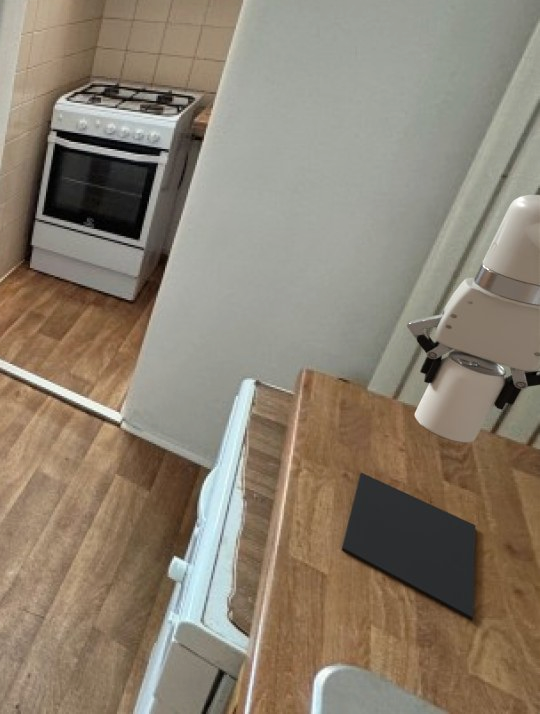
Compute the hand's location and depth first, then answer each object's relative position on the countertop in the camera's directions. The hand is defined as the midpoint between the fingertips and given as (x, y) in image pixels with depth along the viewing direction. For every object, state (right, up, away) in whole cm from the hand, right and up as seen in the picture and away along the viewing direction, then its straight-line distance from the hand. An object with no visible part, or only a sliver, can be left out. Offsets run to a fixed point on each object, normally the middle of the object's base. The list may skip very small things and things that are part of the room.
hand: (462, 390), depth 87 cm
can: (0, -7, +3) cm, 7 cm away
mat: (-7, -22, +1) cm, 23 cm away
